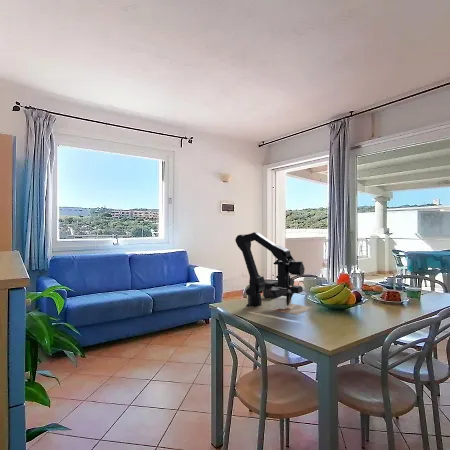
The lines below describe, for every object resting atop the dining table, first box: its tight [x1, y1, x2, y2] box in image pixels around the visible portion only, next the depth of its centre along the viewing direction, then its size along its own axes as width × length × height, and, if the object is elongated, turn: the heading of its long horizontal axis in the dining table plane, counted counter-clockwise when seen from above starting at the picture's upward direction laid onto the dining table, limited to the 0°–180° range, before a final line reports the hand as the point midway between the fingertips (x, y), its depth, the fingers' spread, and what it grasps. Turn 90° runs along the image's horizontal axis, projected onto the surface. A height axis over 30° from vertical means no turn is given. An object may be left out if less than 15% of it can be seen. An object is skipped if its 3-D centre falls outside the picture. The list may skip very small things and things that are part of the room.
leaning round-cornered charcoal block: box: [262, 280, 288, 299], centre depth 190 cm, size 16×5×9 cm, turn 99°
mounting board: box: [270, 303, 314, 316], centre depth 160 cm, size 15×18×3 cm
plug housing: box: [274, 296, 292, 309], centre depth 160 cm, size 5×10×4 cm, turn 142°
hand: (283, 304), depth 160 cm, fingers closed on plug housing, 5 cm apart
